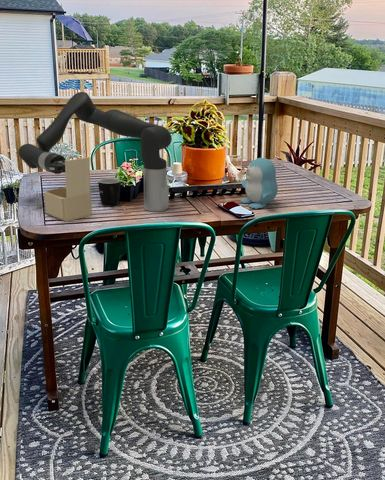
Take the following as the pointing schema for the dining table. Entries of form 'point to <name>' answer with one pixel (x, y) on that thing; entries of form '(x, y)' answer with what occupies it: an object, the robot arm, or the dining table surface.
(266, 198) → the toy
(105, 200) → the mug
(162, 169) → the robot arm
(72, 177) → the front flap
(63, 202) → the carton
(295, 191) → the dining table surface
